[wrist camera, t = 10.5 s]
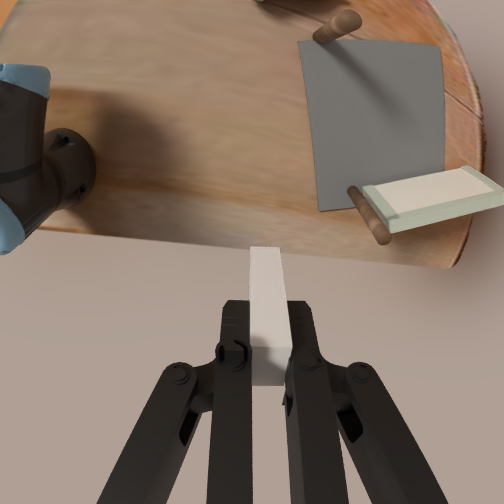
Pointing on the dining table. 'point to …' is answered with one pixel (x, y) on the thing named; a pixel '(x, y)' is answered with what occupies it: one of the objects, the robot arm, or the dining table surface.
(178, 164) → the dining table surface
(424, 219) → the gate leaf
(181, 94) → the dining table surface
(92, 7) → the dining table surface
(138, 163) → the dining table surface
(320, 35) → the gate posts
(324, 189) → the mat
